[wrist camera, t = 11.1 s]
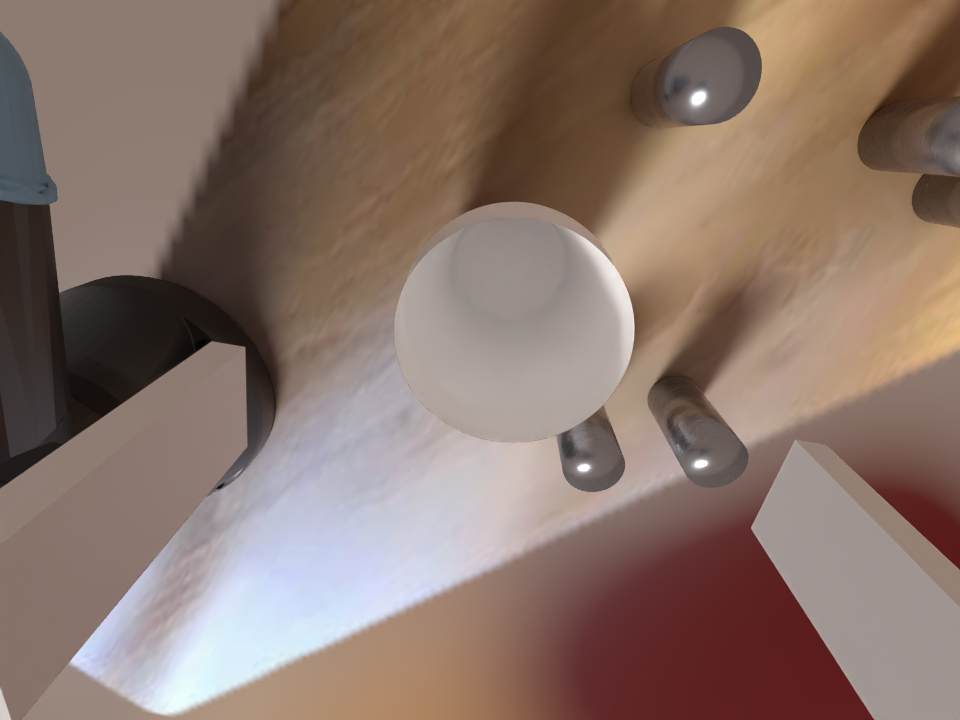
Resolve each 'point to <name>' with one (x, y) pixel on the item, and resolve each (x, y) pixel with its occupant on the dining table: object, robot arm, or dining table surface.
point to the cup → (513, 323)
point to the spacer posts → (714, 99)
